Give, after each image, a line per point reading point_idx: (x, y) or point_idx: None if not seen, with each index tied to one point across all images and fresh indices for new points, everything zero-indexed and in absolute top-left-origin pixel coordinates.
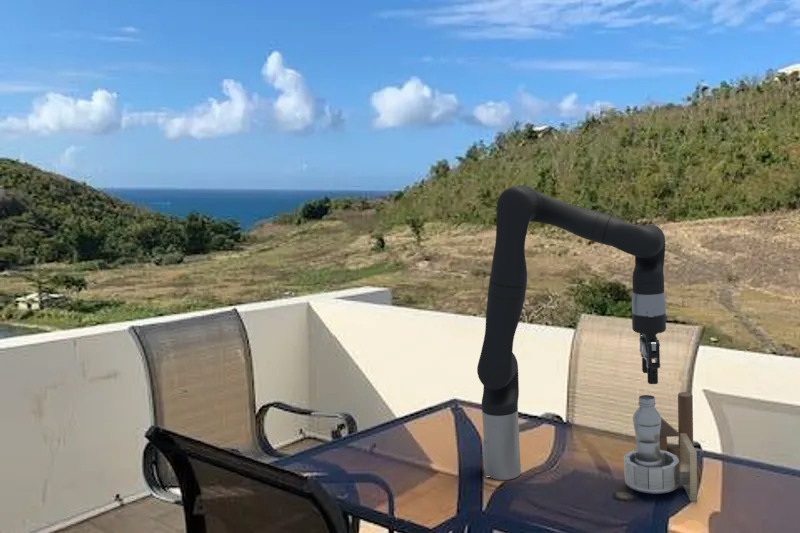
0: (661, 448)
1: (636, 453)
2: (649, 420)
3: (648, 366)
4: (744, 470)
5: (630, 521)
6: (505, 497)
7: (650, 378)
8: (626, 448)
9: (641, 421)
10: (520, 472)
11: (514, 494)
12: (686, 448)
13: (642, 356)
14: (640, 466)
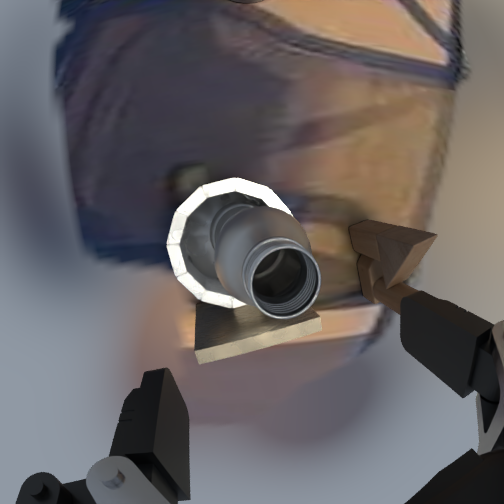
0: (365, 246)
1: (233, 210)
2: (219, 274)
3: (36, 482)
4: (336, 366)
5: (91, 211)
6: (147, 3)
7: (124, 411)
8: (400, 174)
9: (217, 243)
10: (245, 1)
11: (160, 10)
12: (236, 337)
13: (492, 340)
14: (179, 225)
